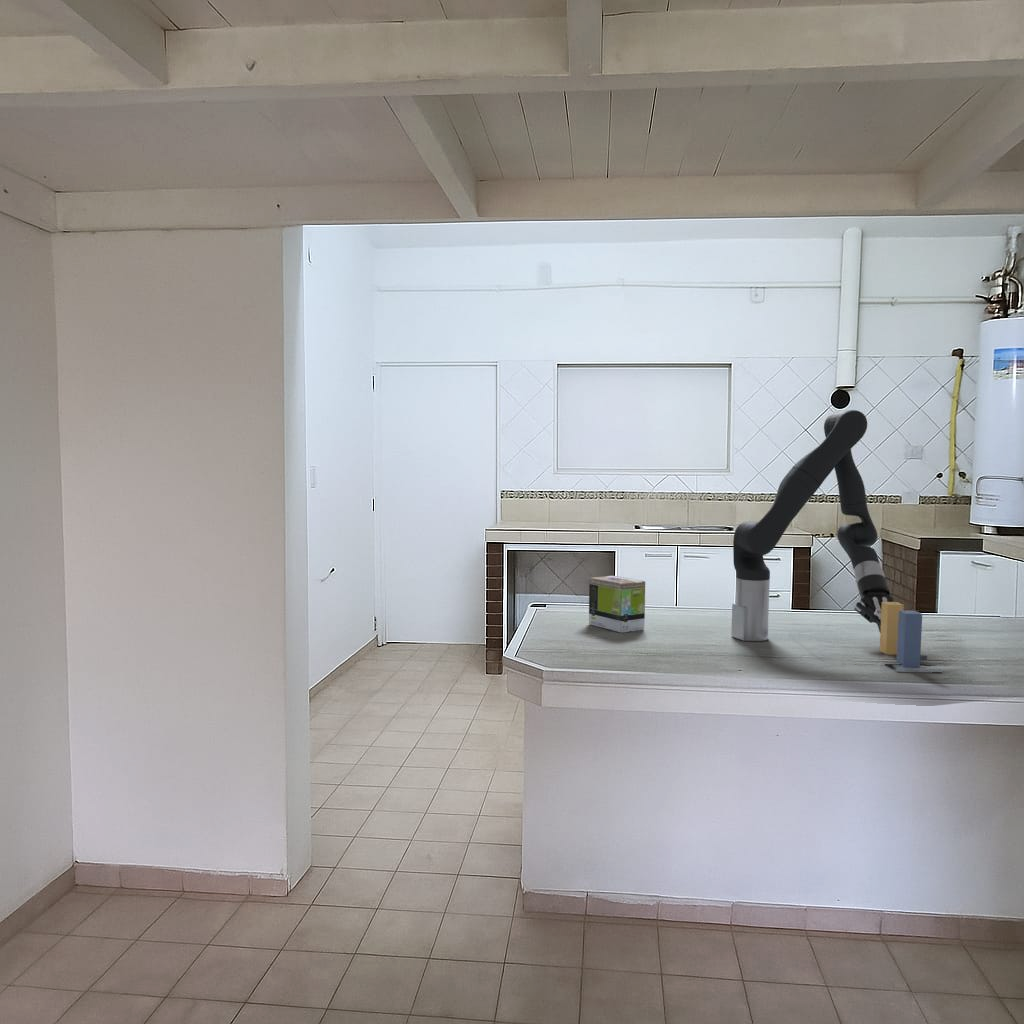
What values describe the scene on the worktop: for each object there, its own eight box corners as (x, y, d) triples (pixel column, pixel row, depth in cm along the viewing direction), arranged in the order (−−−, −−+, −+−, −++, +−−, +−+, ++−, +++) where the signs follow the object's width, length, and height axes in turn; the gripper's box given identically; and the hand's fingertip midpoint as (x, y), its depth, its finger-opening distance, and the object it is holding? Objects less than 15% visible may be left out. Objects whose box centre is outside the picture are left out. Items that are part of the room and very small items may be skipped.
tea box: (645, 629, 249) (646, 580, 248) (620, 633, 244) (621, 583, 242) (612, 621, 262) (613, 574, 261) (587, 624, 256) (588, 576, 255)
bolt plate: (942, 672, 204) (942, 668, 204) (896, 671, 204) (896, 667, 204) (897, 647, 230) (897, 643, 230) (856, 646, 230) (856, 642, 230)
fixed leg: (929, 666, 206) (932, 614, 205) (903, 665, 206) (905, 613, 205) (922, 662, 210) (924, 610, 209) (896, 661, 210) (898, 610, 209)
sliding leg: (911, 654, 216) (913, 605, 215) (885, 654, 217) (887, 604, 216) (904, 651, 220) (906, 602, 219) (879, 650, 221) (881, 601, 220)
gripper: (850, 572, 229) (865, 626, 218) (899, 573, 229) (917, 627, 218) (842, 588, 235) (857, 641, 224) (890, 589, 235) (907, 642, 223)
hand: (887, 634), depth 221 cm, fingers closed
